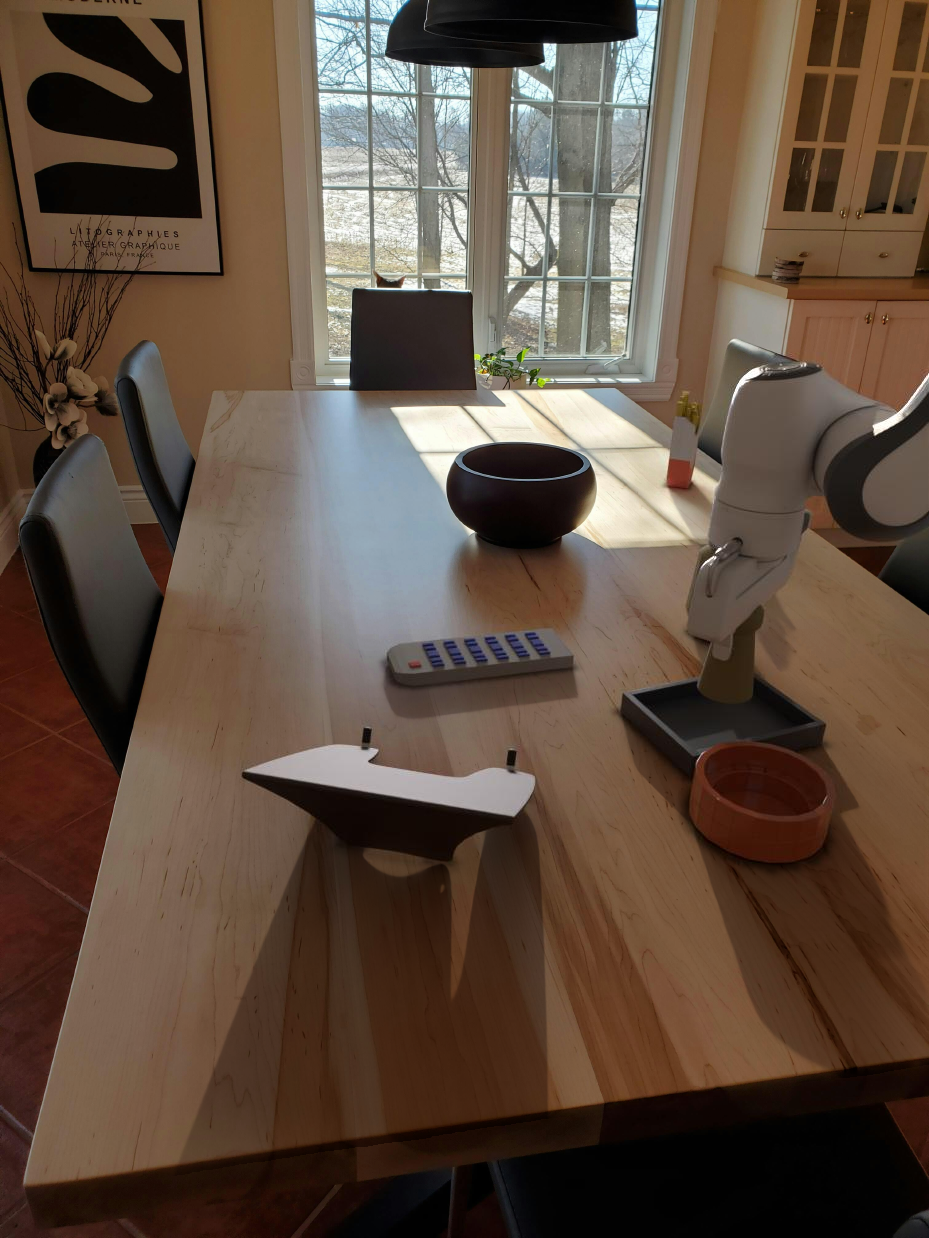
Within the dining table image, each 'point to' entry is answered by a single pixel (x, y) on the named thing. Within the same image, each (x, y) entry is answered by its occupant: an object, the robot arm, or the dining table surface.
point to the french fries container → (684, 442)
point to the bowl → (761, 801)
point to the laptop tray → (394, 798)
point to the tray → (717, 720)
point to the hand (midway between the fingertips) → (732, 647)
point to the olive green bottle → (733, 666)
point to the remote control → (478, 657)
